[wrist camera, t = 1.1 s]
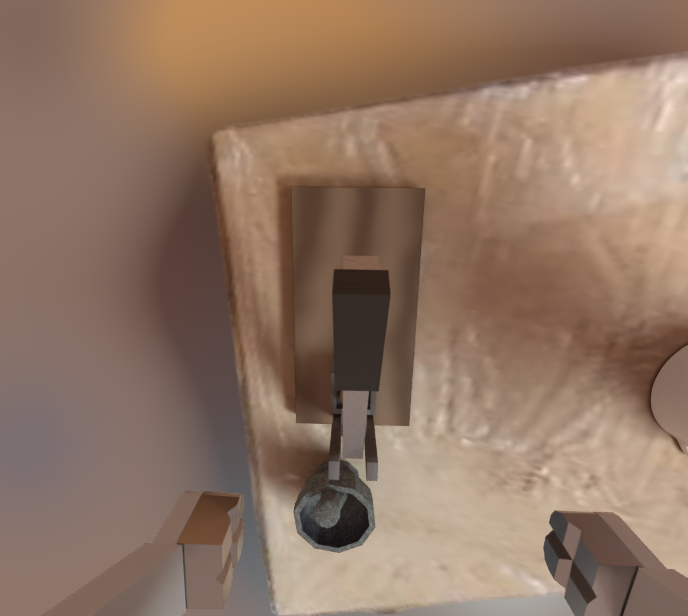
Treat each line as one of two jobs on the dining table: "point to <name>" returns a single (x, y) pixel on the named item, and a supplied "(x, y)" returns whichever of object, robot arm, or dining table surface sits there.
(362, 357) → the lever
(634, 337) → the dining table surface
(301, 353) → the press base
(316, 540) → the mortar and pestle
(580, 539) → the robot arm
